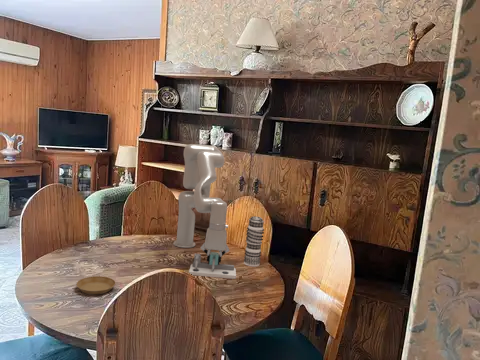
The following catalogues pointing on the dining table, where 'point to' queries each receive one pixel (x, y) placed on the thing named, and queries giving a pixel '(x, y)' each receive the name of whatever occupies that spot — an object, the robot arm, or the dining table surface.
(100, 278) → the plant saucer
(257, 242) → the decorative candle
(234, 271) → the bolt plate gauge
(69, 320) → the dining table surface
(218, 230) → the robot arm
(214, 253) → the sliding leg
